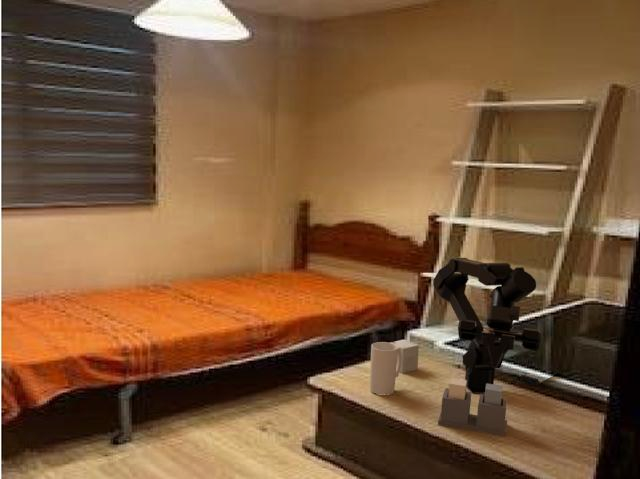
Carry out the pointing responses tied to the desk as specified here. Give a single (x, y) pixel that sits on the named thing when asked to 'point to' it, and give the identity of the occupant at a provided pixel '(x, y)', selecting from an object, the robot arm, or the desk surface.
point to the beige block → (457, 388)
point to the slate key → (493, 394)
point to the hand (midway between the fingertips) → (494, 367)
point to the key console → (484, 421)
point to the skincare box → (408, 355)
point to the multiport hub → (529, 380)
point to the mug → (384, 367)
